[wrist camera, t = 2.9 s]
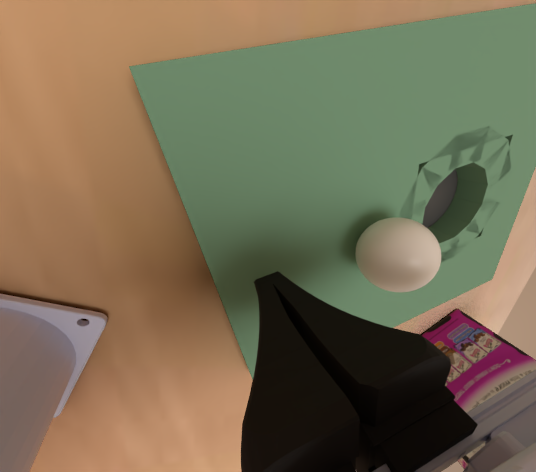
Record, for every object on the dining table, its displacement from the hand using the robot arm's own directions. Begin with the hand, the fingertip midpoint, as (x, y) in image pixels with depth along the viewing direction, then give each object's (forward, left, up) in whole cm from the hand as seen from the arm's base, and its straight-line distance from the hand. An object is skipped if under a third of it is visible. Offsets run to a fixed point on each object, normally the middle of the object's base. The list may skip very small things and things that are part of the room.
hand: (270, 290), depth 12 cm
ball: (+5, +5, +1) cm, 7 cm away
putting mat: (+7, +7, -3) cm, 10 cm away
